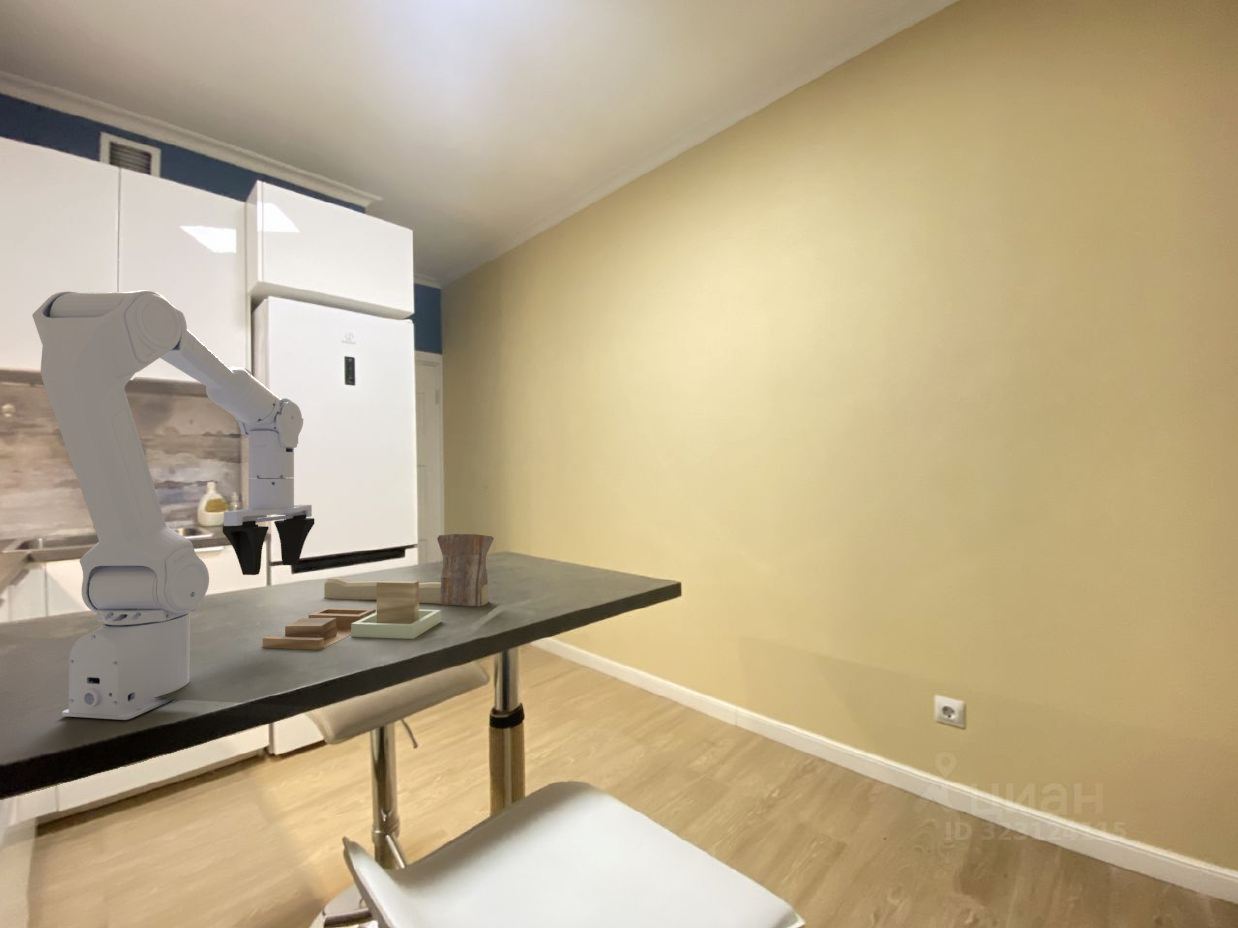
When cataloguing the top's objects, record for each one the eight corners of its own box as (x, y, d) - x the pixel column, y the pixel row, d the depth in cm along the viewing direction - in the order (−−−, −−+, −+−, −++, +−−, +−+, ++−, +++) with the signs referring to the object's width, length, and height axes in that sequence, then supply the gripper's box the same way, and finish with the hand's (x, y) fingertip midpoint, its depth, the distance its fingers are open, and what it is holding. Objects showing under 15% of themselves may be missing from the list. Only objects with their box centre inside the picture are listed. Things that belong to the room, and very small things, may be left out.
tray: (413, 645, 76) (413, 625, 76) (351, 643, 77) (351, 623, 77) (441, 627, 84) (441, 609, 84) (384, 625, 86) (384, 608, 86)
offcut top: (321, 634, 74) (321, 625, 74) (285, 634, 74) (285, 626, 74) (336, 626, 78) (336, 617, 78) (302, 626, 78) (302, 618, 78)
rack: (321, 656, 72) (321, 634, 72) (260, 654, 73) (260, 632, 73) (380, 626, 85) (380, 607, 85) (329, 624, 87) (329, 606, 87)
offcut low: (317, 643, 74) (317, 635, 74) (284, 642, 74) (284, 634, 74) (336, 634, 78) (336, 626, 78) (305, 633, 78) (305, 625, 78)
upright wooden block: (413, 633, 80) (413, 583, 80) (376, 631, 80) (376, 582, 81) (418, 630, 81) (418, 581, 81) (382, 628, 82) (382, 580, 82)
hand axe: (501, 608, 97) (497, 531, 97) (493, 612, 93) (489, 534, 94) (334, 606, 104) (331, 536, 104) (321, 611, 101) (318, 538, 101)
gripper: (256, 479, 72) (256, 579, 72) (328, 477, 86) (328, 561, 86) (210, 479, 73) (210, 578, 72) (289, 477, 87) (289, 560, 87)
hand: (271, 569), depth 79 cm, fingers open, 7 cm apart
